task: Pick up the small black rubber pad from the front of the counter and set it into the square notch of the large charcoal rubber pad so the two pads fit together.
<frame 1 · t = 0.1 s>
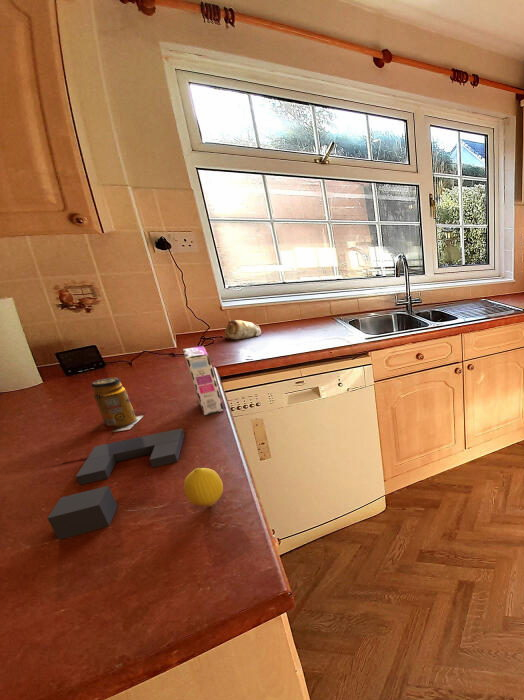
lemon: (210, 506, 78), on the counter
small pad: (89, 522, 74), on the counter
pastry: (243, 336, 188), on the counter
candy bar box: (212, 407, 118), on the counter
condiment: (120, 425, 109), on the counter
base pad: (137, 457, 94), on the counter
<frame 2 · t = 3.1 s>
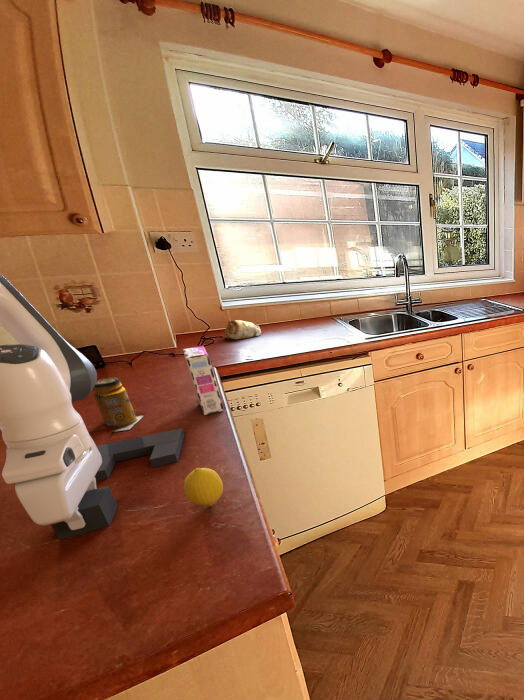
hand: (86, 513, 73), 2 cm above the counter, tool pointing down, fingers closed on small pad, 6 cm apart
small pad: (90, 522, 74), on the counter, touching gripper
everything else where it was.
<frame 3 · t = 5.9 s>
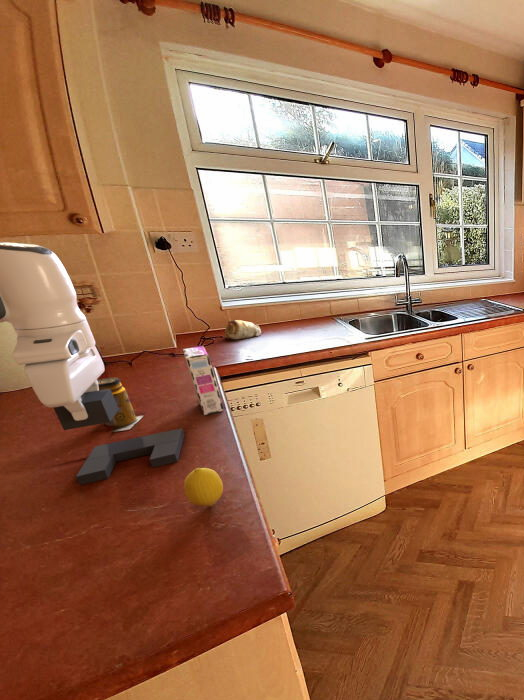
hand: (89, 410, 79), 16 cm above the counter, tool pointing down, fingers closed on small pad, 6 cm apart
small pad: (92, 419, 80), point 14 cm above the counter, touching gripper
everything else where it was.
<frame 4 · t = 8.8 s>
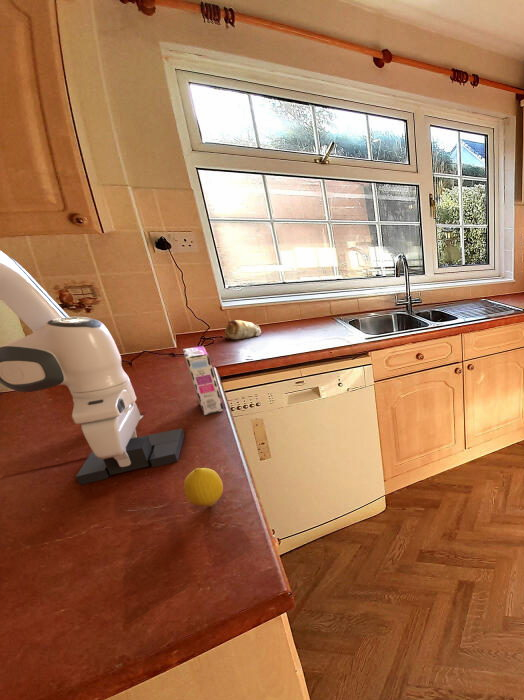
hand: (130, 456, 90), 2 cm above the counter, tool pointing down, fingers closed on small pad, 6 cm apart
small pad: (133, 463, 91), on the counter, touching gripper
everything else where it was.
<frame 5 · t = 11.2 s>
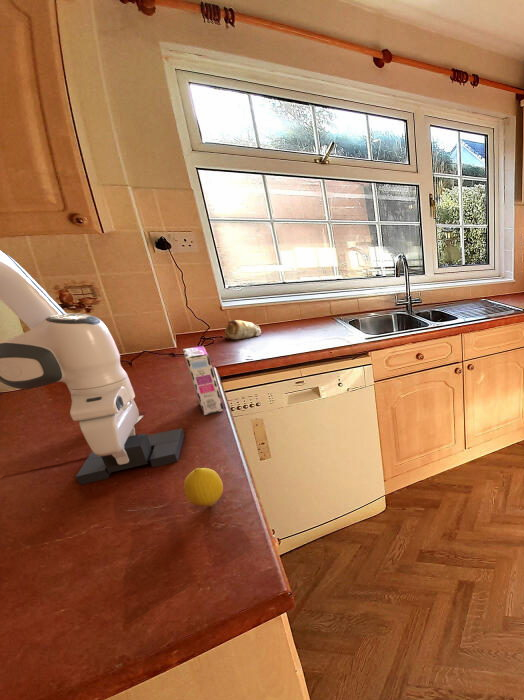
hand: (128, 454, 90), 3 cm above the counter, tool pointing down, fingers closed on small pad, 6 cm apart
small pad: (131, 461, 91), point 1 cm above the counter, touching gripper
everything else where it was.
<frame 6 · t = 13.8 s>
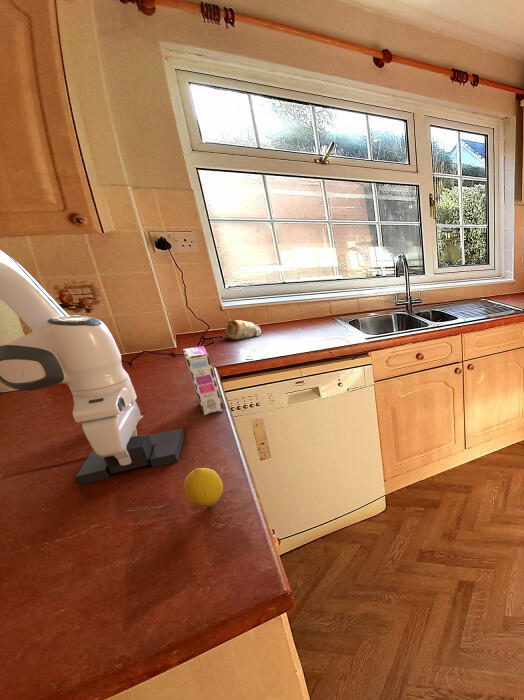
hand: (130, 455, 90), 2 cm above the counter, tool pointing down, fingers closed on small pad, 6 cm apart
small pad: (133, 462, 91), point 1 cm above the counter, touching gripper
everything else where it was.
when the fingers open (3 cm above the counter, at t = 18.7 s): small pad stays where it is, on the counter.
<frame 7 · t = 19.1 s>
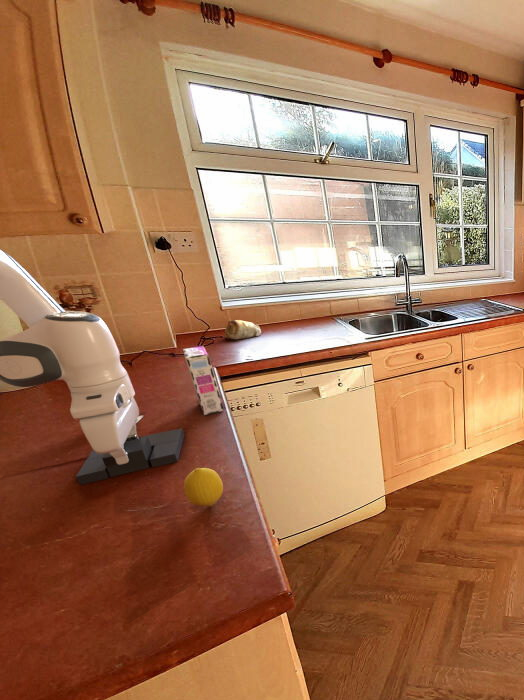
hand: (129, 452, 90), 3 cm above the counter, tool pointing down, fingers open, 8 cm apart
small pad: (133, 465, 91), on the counter
everything else where it was.
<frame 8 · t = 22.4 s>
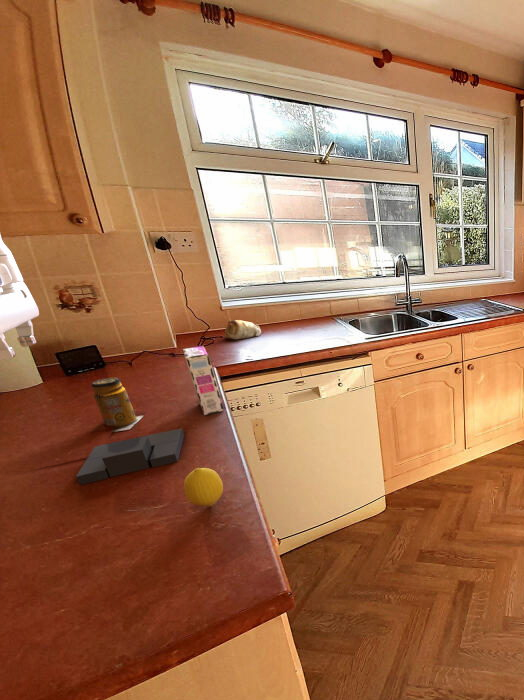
hand: (19, 351, 77), 27 cm above the counter, tool pointing down, fingers open, 8 cm apart
nothing on the counter moved.
at the end: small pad 0.1 cm from the target spot on the base pad, point 0.0 cm above the base pad's base; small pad tilted 0°; the gripper is holding nothing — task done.
